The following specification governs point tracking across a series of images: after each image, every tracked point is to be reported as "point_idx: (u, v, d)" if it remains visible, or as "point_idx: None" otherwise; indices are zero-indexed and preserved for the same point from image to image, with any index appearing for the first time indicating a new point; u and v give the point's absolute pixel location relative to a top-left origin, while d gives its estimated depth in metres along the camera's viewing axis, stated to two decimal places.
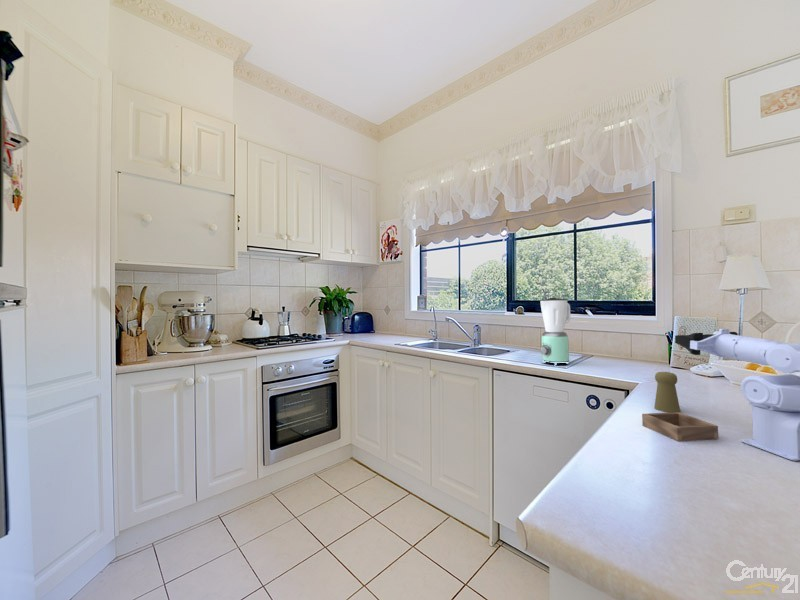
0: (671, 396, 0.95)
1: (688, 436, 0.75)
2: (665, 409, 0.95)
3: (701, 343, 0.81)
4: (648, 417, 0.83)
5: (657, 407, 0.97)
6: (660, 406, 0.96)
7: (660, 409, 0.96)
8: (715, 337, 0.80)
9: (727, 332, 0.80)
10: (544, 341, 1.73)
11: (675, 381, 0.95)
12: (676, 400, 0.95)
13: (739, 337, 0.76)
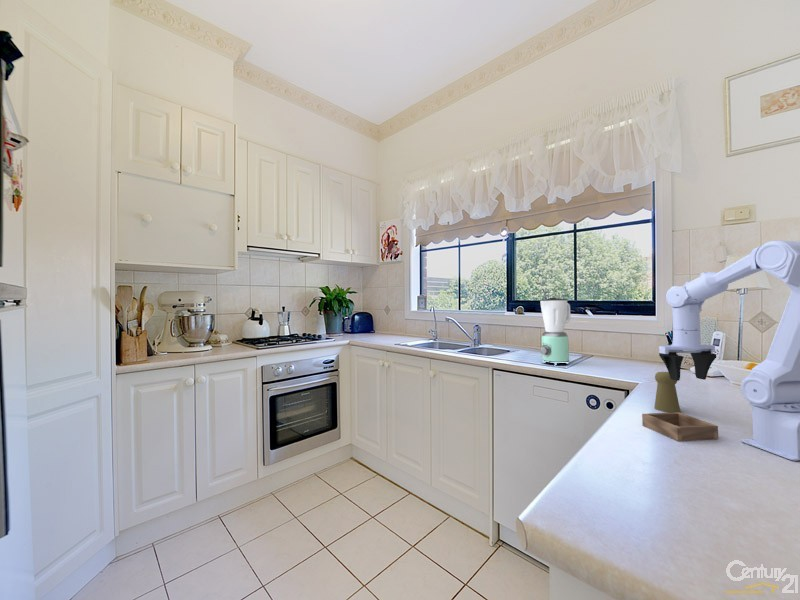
0: (671, 396, 0.95)
1: (688, 436, 0.75)
2: (665, 409, 0.95)
3: None
4: (648, 417, 0.83)
5: (657, 407, 0.97)
6: (660, 406, 0.96)
7: (660, 409, 0.96)
8: (671, 345, 0.92)
9: None
10: (544, 341, 1.73)
11: (675, 381, 0.95)
12: (676, 400, 0.95)
13: None
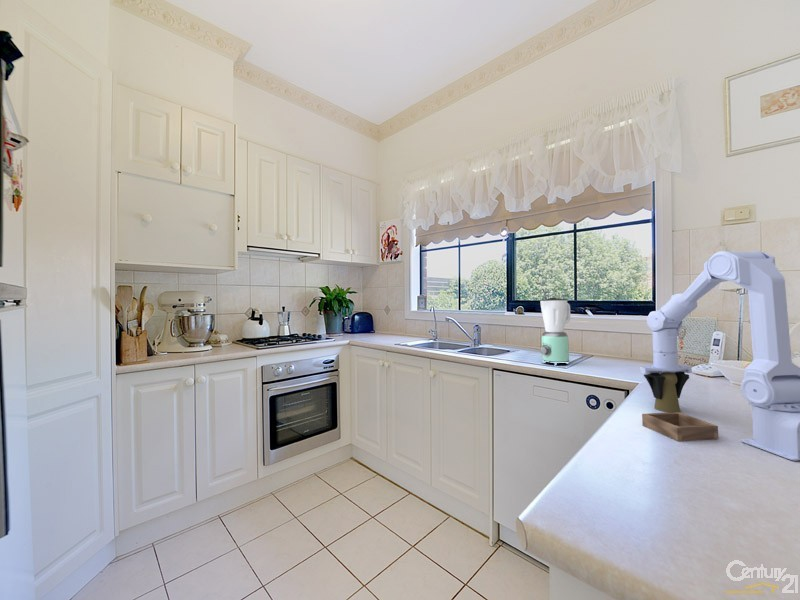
0: (671, 396, 0.95)
1: (688, 436, 0.75)
2: (665, 409, 0.95)
3: None
4: (648, 417, 0.83)
5: (657, 407, 0.97)
6: (660, 406, 0.96)
7: (660, 409, 0.96)
8: (652, 366, 0.99)
9: None
10: (544, 341, 1.73)
11: (675, 381, 0.95)
12: (676, 400, 0.95)
13: None
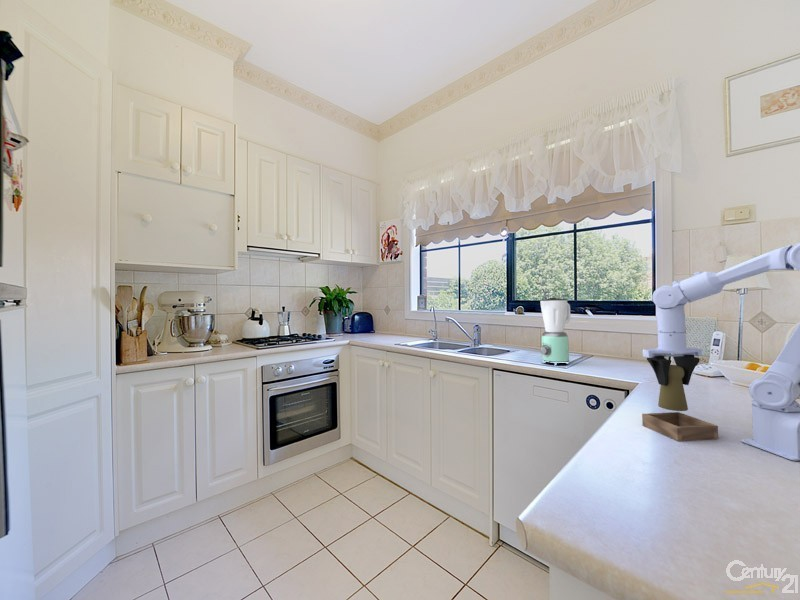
0: (676, 392, 0.84)
1: (688, 436, 0.75)
2: (668, 406, 0.84)
3: None
4: (648, 417, 0.83)
5: (660, 404, 0.86)
6: (663, 403, 0.85)
7: (663, 406, 0.85)
8: (656, 348, 0.87)
9: None
10: (544, 341, 1.73)
11: (681, 375, 0.84)
12: (682, 397, 0.83)
13: None
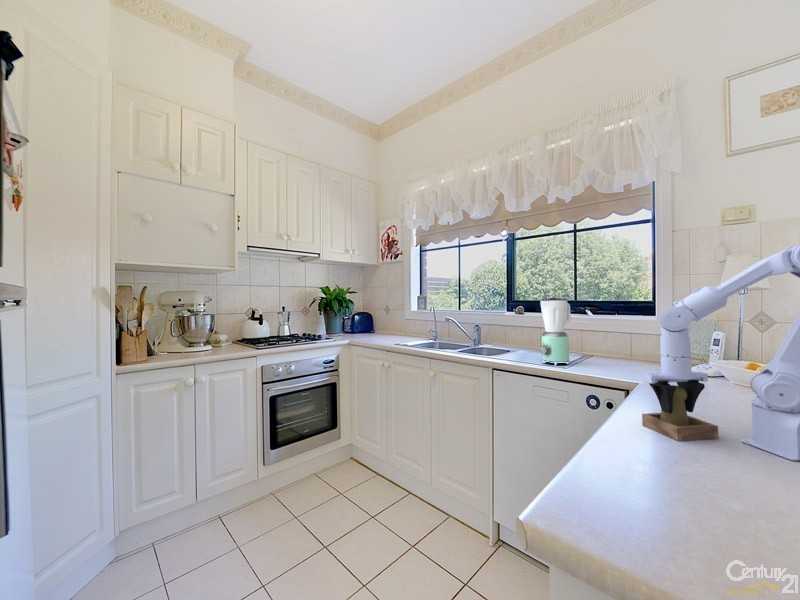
0: (677, 415, 0.79)
1: (688, 436, 0.75)
2: None
3: None
4: (648, 417, 0.83)
5: None
6: None
7: None
8: (659, 372, 0.82)
9: None
10: (544, 341, 1.73)
11: (683, 397, 0.79)
12: (684, 420, 0.79)
13: None
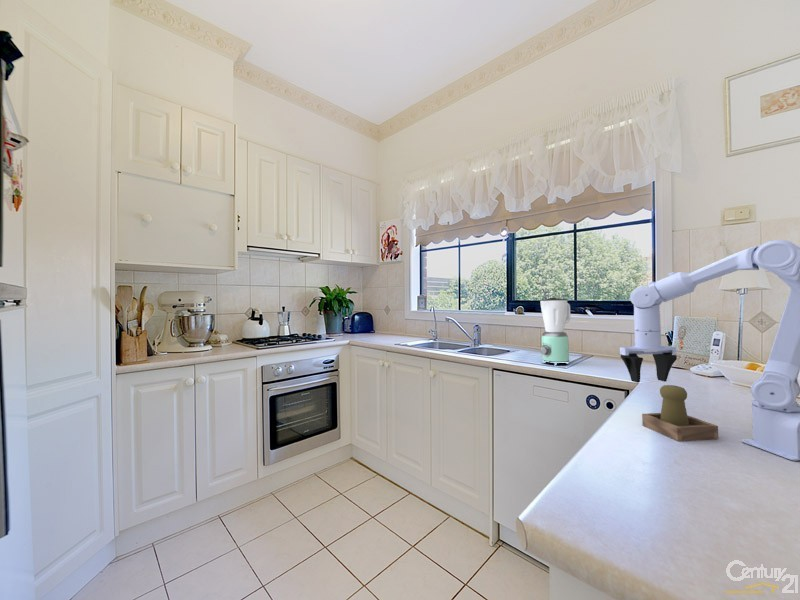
0: (677, 415, 0.79)
1: (688, 436, 0.75)
2: None
3: None
4: (648, 417, 0.83)
5: None
6: None
7: None
8: (633, 346, 0.91)
9: None
10: (544, 341, 1.73)
11: (683, 397, 0.79)
12: (684, 420, 0.79)
13: None
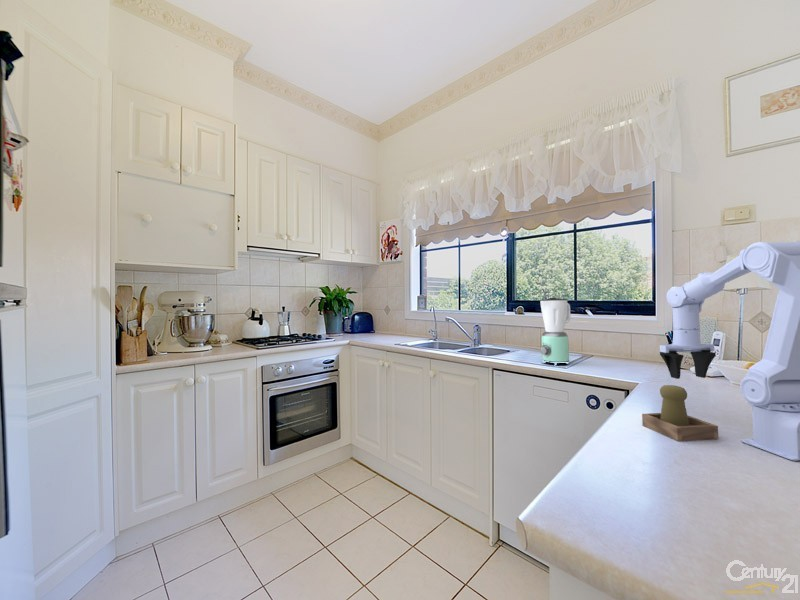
0: (677, 415, 0.79)
1: (688, 436, 0.75)
2: None
3: None
4: (648, 417, 0.83)
5: None
6: None
7: None
8: (672, 344, 0.94)
9: None
10: (544, 341, 1.73)
11: (683, 397, 0.79)
12: (684, 420, 0.79)
13: None
